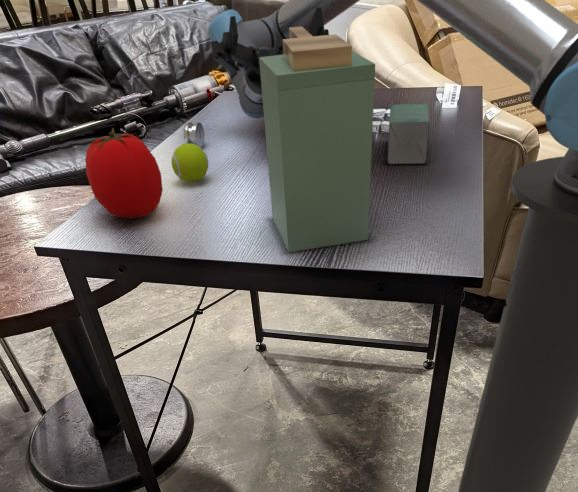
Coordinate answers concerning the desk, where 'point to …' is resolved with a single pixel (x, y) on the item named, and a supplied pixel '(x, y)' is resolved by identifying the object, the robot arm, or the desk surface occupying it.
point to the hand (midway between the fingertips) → (277, 21)
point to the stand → (319, 150)
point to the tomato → (124, 175)
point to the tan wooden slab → (315, 50)
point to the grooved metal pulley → (194, 133)
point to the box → (408, 134)
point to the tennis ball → (189, 162)
